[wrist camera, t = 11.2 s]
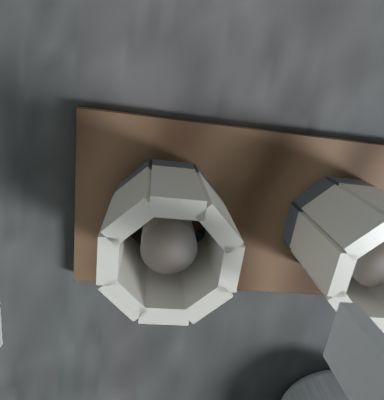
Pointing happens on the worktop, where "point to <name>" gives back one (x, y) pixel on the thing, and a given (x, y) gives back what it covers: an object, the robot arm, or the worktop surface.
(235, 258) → the cream sleeve
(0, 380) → the worktop surface
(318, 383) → the ramekin
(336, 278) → the seated sleeve
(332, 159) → the pin board
